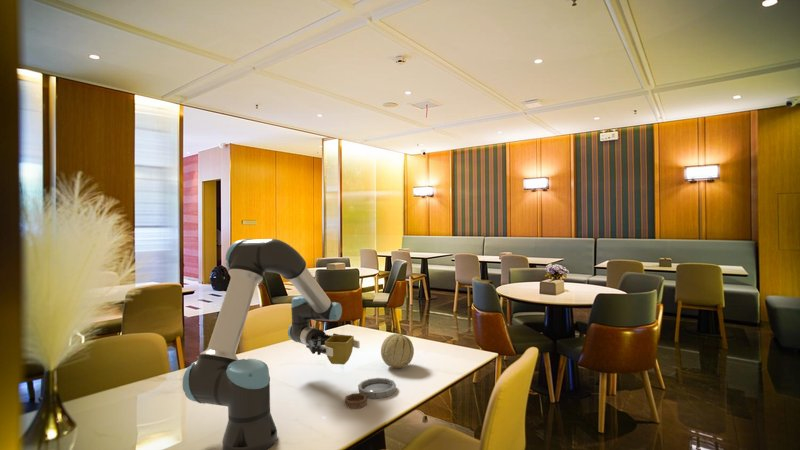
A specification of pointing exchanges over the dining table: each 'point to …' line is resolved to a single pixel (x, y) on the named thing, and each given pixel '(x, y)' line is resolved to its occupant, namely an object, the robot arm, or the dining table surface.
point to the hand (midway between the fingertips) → (345, 348)
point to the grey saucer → (377, 387)
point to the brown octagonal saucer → (355, 400)
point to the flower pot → (340, 348)
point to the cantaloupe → (397, 350)
